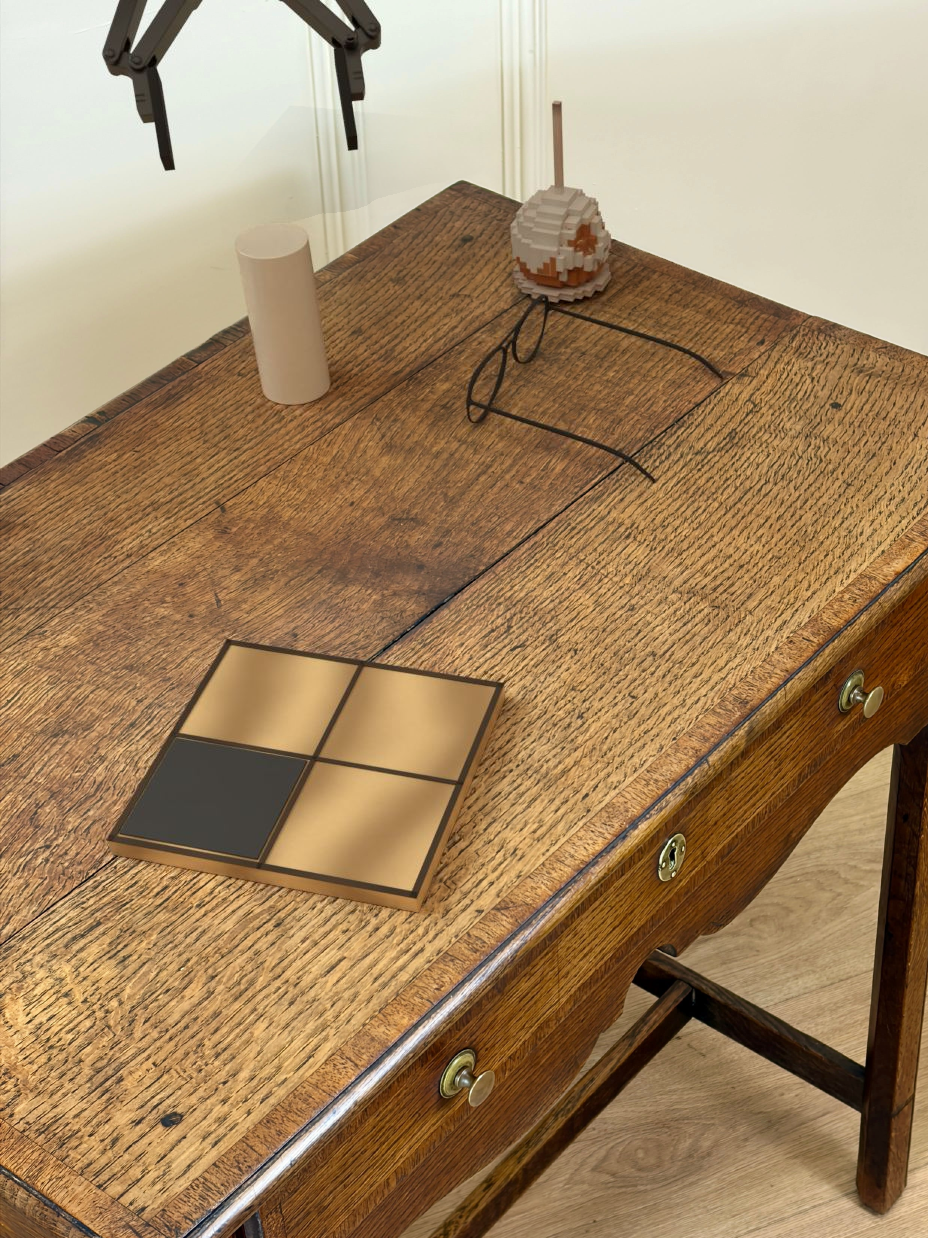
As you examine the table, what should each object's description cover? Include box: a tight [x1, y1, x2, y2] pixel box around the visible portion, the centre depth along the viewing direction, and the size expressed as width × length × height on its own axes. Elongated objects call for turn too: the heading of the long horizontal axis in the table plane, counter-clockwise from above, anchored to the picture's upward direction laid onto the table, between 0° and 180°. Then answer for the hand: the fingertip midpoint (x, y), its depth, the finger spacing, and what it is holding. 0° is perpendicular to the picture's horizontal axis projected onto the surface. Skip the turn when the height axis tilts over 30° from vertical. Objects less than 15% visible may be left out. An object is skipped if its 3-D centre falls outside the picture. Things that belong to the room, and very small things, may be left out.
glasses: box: [465, 294, 724, 483], centre depth 116 cm, size 14×15×5 cm
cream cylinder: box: [234, 222, 331, 406], centre depth 116 cm, size 5×5×12 cm
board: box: [105, 638, 506, 913], centre depth 92 cm, size 18×17×1 cm
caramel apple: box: [509, 100, 612, 303], centre depth 125 cm, size 8×8×15 cm
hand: (260, 154), depth 117 cm, fingers open, 13 cm apart
